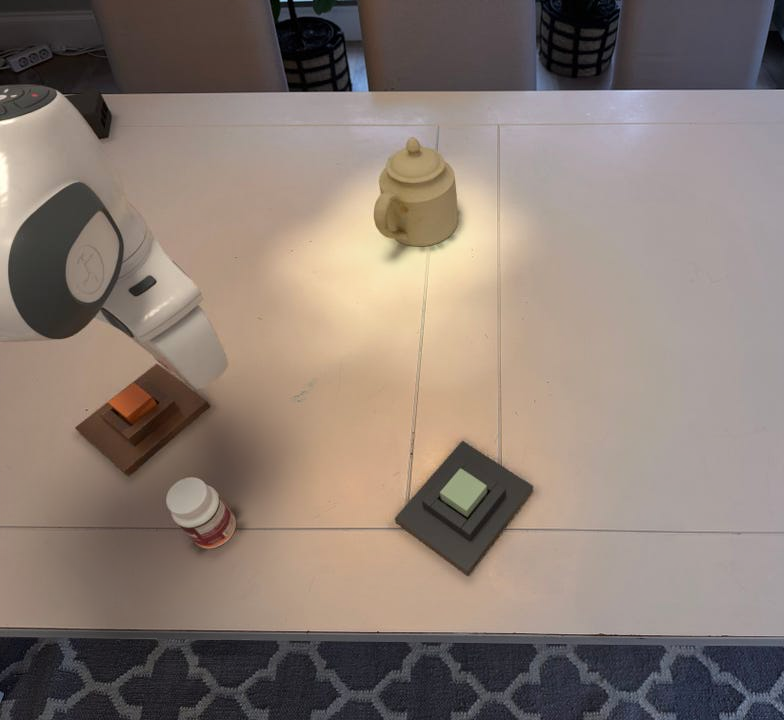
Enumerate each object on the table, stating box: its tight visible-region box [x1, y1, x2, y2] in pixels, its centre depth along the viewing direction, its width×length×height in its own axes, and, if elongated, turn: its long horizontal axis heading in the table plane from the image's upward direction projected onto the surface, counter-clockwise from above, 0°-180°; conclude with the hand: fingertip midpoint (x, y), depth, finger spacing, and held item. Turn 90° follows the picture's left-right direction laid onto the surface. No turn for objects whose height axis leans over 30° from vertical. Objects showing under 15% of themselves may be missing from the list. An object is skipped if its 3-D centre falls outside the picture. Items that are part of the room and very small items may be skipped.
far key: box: [107, 382, 157, 425], centre depth 80 cm, size 4×4×2 cm
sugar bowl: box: [373, 136, 459, 247], centre depth 96 cm, size 15×11×15 cm
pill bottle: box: [165, 476, 237, 549], centre depth 70 cm, size 5×5×8 cm
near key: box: [440, 468, 487, 517], centre depth 72 cm, size 4×4×2 cm
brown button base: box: [74, 363, 211, 477], centre depth 82 cm, size 12×10×3 cm
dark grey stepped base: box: [394, 440, 534, 577], centre depth 73 cm, size 12×10×3 cm
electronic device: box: [64, 90, 112, 139], centre depth 119 cm, size 7×11×5 cm
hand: (172, 362), depth 69 cm, fingers closed
